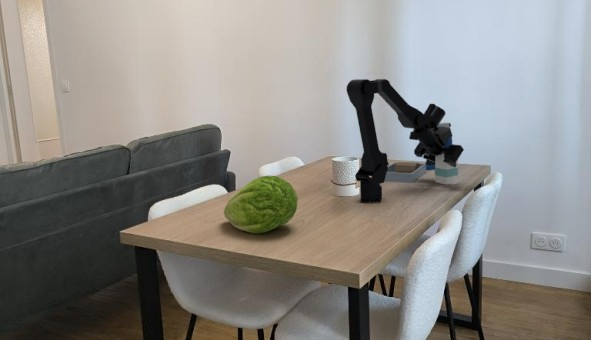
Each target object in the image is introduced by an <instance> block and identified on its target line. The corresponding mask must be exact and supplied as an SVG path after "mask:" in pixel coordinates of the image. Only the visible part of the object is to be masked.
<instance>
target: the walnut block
mask: <svg viewBox="0 0 591 340" xmlns="http://www.w3.org/2000/svg"><path fill="white" fill-rule="evenodd" d="M419 163H420V162H413V161H412V162H411V161H410V162H409V161H408V162H407V161H399V162H397V164H395V173H412V172H414V171H415V170H416V169H418V168H419Z"/></svg>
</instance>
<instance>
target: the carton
mask: <svg viewBox="0 0 591 340" xmlns="http://www.w3.org/2000/svg"><path fill="white" fill-rule="evenodd" d="M443 160H444V154H441V155H438V156H435V169H434V181H435V183H437V184H441V185H450V186H454V185H457V184H458V175H459V159H458V160H457V161H456V164H457V165H456V167H453V166H451V165H449V164H447V163H445V162H443Z"/></svg>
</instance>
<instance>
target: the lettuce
mask: <svg viewBox="0 0 591 340" xmlns="http://www.w3.org/2000/svg"><path fill="white" fill-rule="evenodd" d="M298 199H299V198H298V196H297V192H296V190H295V188H294V187H293V186H292V184H291V183H290V182H288V181H287V180H286V179H284V178H282V177H280V176H277V175H262V176H259V177H257V178H255V179H253V180H250V181H249V182H248V183H247V184H246V185H245V186H244V187H243V188H241V189H240V190H238V191H237V192H236V193H235V194H234V195H233V196H231V197H230V198H229V200H228V202H227V204H226V205H225V206H224V209H223V214H224V218H226V219H227V221H228V222H229V223H230V224H231V225H232V226H233V227H234V228H236V229H238V230H240V231H243V232H245V231H246V233H250V232H251V234H255V233H257V234H263V233H267V232H270V231H271V230H274V229H275V228H278V227H281V226H283V225H286V224H287V223H288V222H290V221H291V220H292V219H293V217H294V216H295V213H296V212H297V208H298Z"/></svg>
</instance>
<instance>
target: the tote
mask: <svg viewBox="0 0 591 340" xmlns="http://www.w3.org/2000/svg"><path fill="white" fill-rule="evenodd" d="M397 163H398V162H397V161H396V162H393V163H391V164H389V165H388V171H387V173H386V177H385V181H384V182H387V183H388V182H389V183H392V182H393V183H406V184H413V183H414V182H416V181H417V180H418V179H419V178H421V177H422V176H423V175H425V174H426V173H427V170H426V164H425V163H421V162H418V163H419V168H418V169H416V170H415V171H414V172H412V173H395V164H397Z"/></svg>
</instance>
